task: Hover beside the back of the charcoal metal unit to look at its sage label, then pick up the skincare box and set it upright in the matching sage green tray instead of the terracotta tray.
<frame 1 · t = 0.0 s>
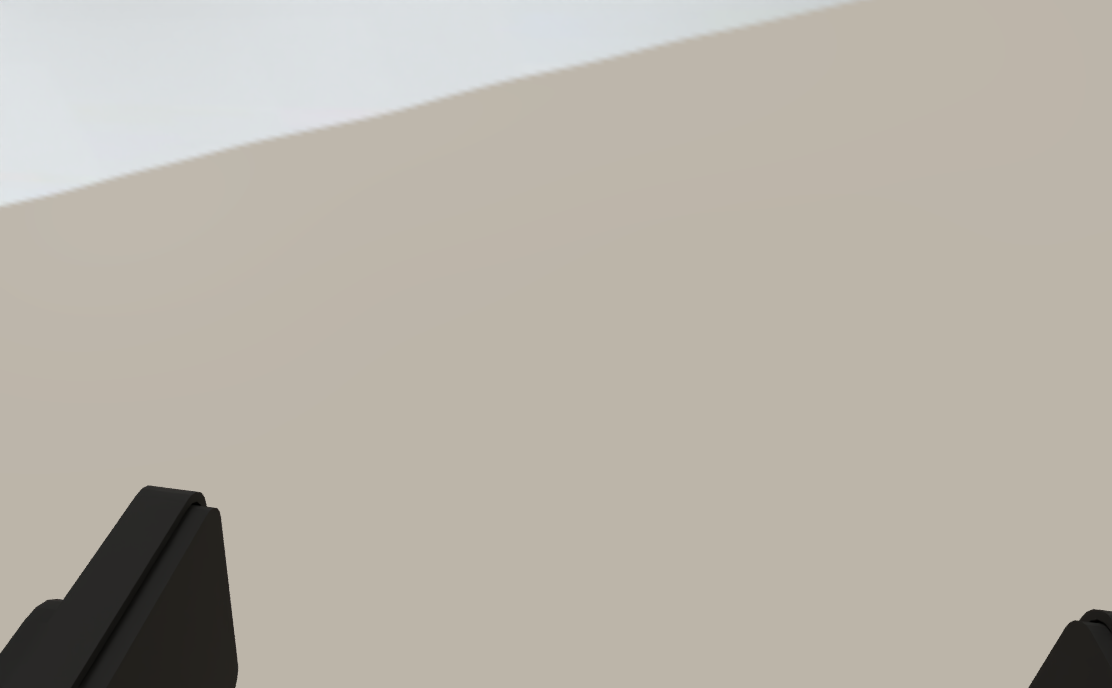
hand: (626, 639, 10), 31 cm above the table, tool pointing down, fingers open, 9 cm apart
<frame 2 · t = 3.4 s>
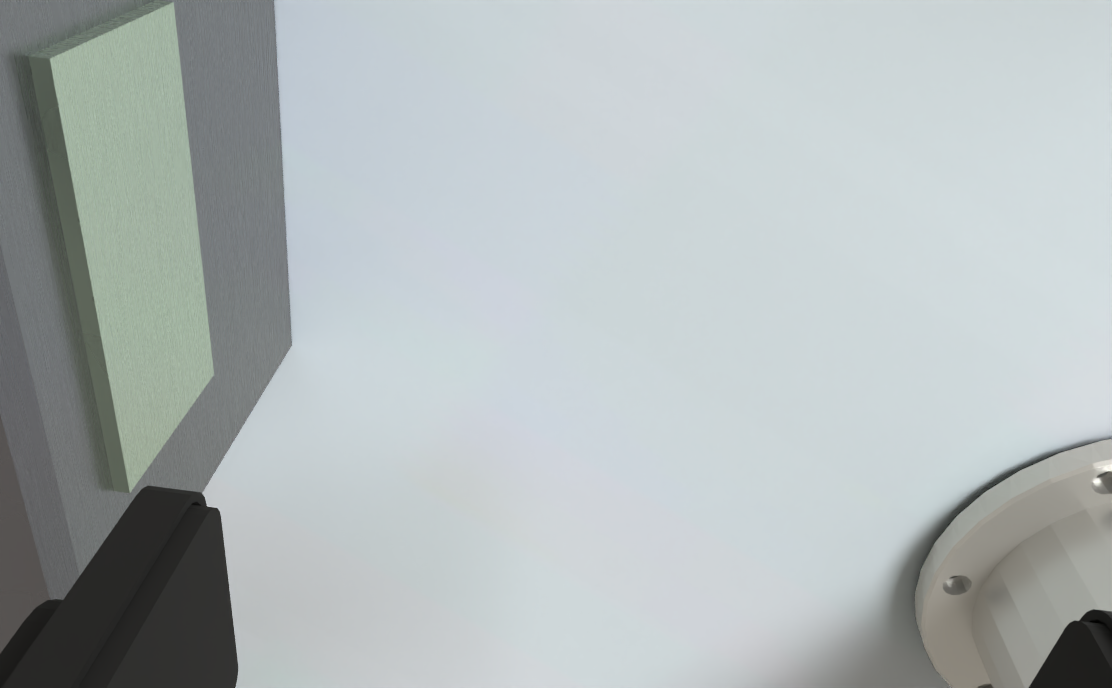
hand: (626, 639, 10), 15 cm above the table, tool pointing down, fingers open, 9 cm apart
charcoal unit: (164, 101, 23), on the table
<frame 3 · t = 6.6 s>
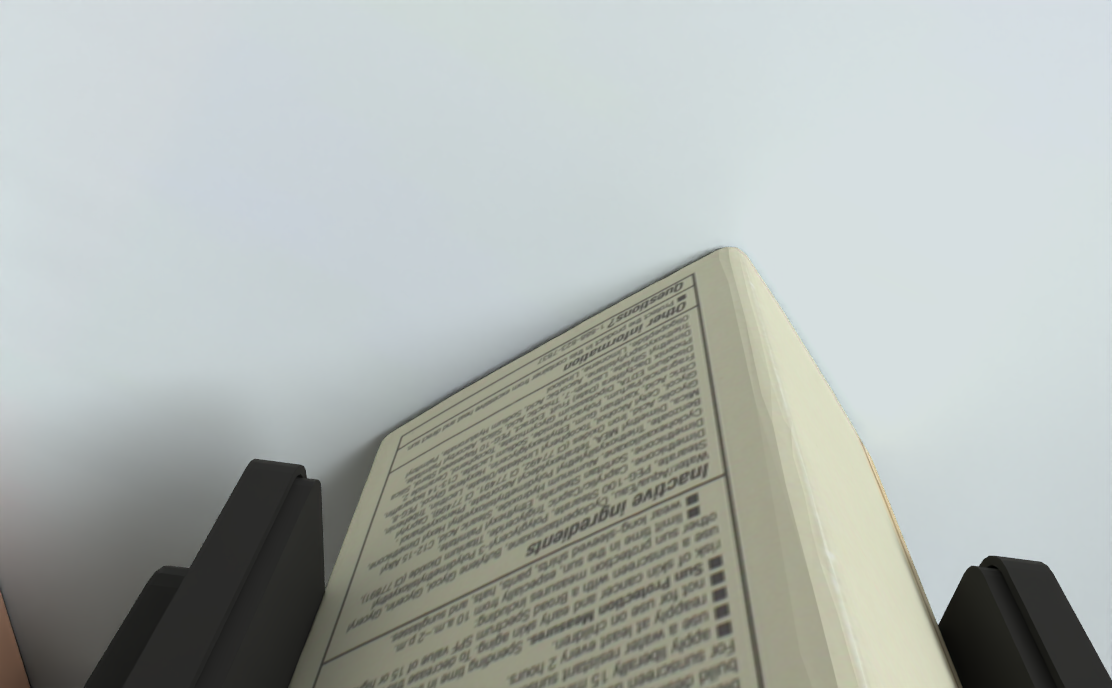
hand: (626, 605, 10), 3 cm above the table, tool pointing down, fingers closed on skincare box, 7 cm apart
skincare box: (625, 427, 13), on the table, touching gripper
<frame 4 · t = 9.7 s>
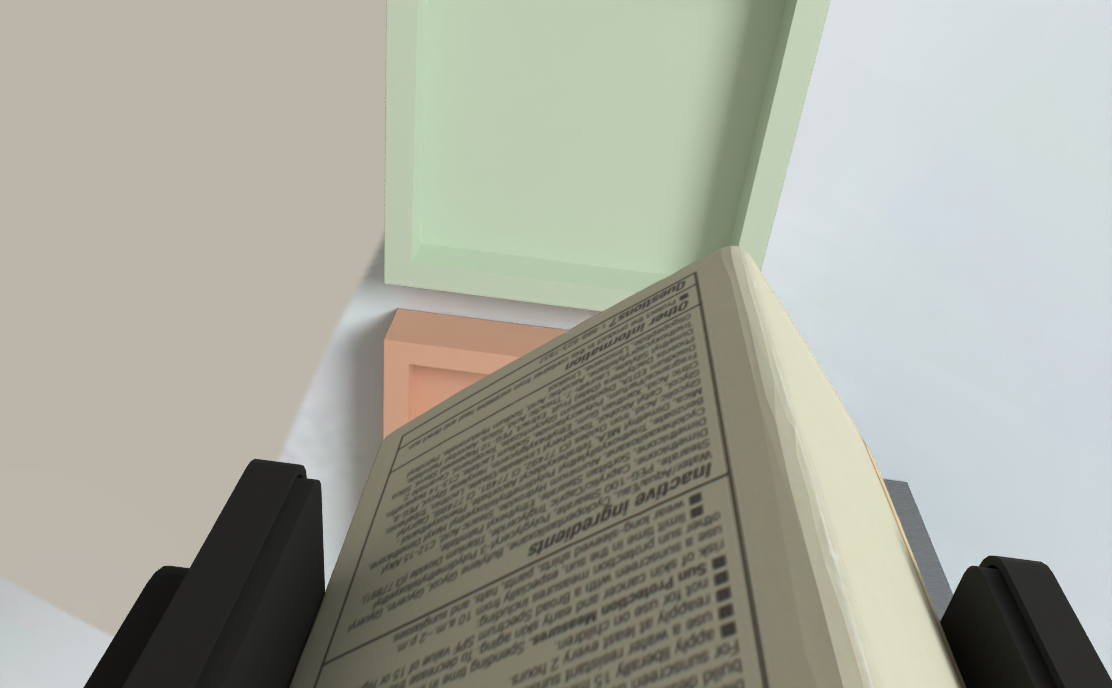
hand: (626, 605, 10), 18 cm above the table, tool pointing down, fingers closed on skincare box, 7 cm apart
sage tray: (590, 107, 26), on the table
skincare box: (627, 426, 13), point 15 cm above the table, touching gripper
terracotta tray: (545, 457, 33), on the table
charcoal unit: (777, 606, 36), on the table
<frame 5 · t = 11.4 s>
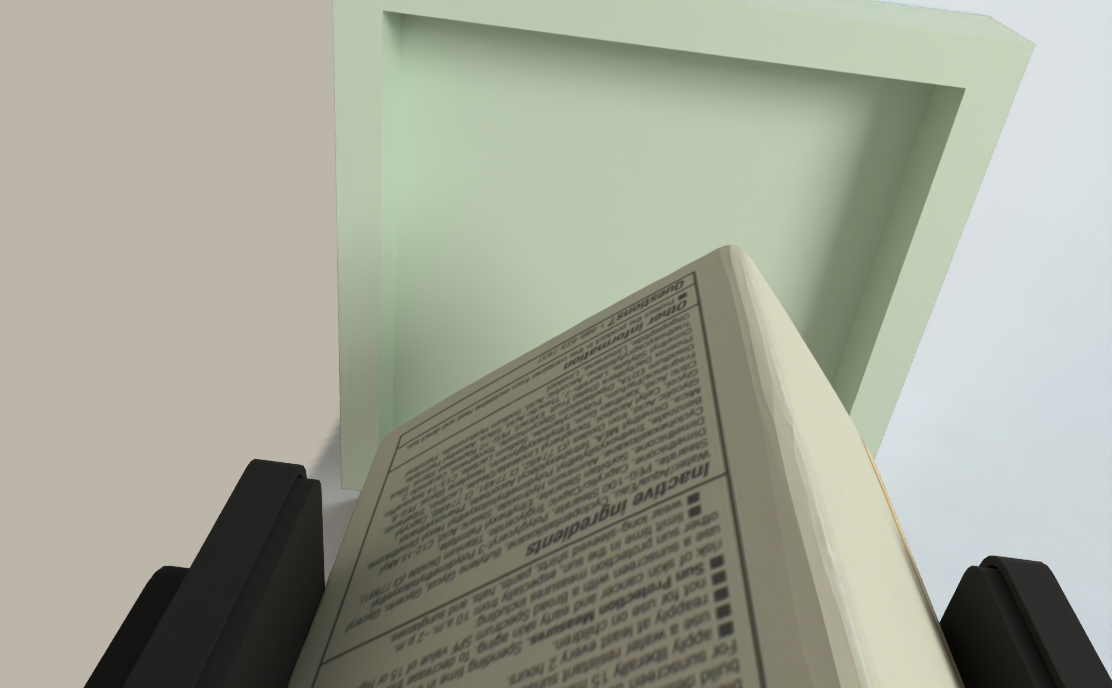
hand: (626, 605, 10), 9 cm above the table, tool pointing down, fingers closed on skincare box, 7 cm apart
sage tray: (628, 257, 18), on the table
skincare box: (626, 426, 13), point 6 cm above the table, touching gripper
when the fingers open (5 cm above the table, at t = 12.8 s): skincare box drops 1 cm, resting on sage tray.
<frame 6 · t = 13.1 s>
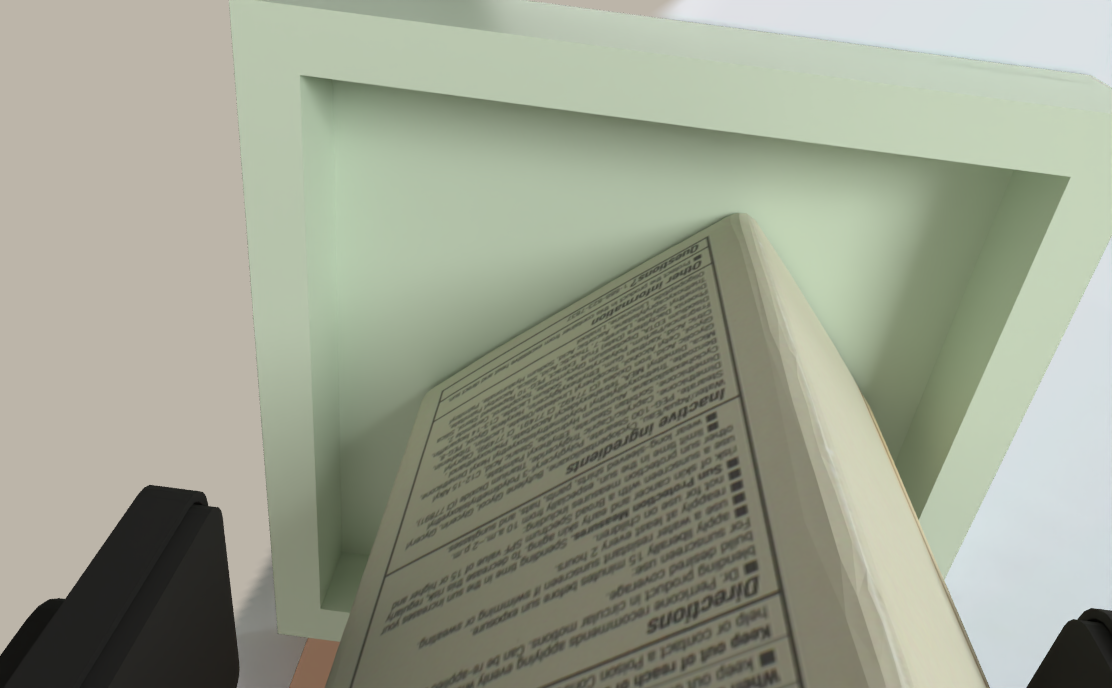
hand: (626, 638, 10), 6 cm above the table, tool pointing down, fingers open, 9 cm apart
sage tray: (625, 360, 15), on the table
skincare box: (645, 382, 15), resting on sage tray
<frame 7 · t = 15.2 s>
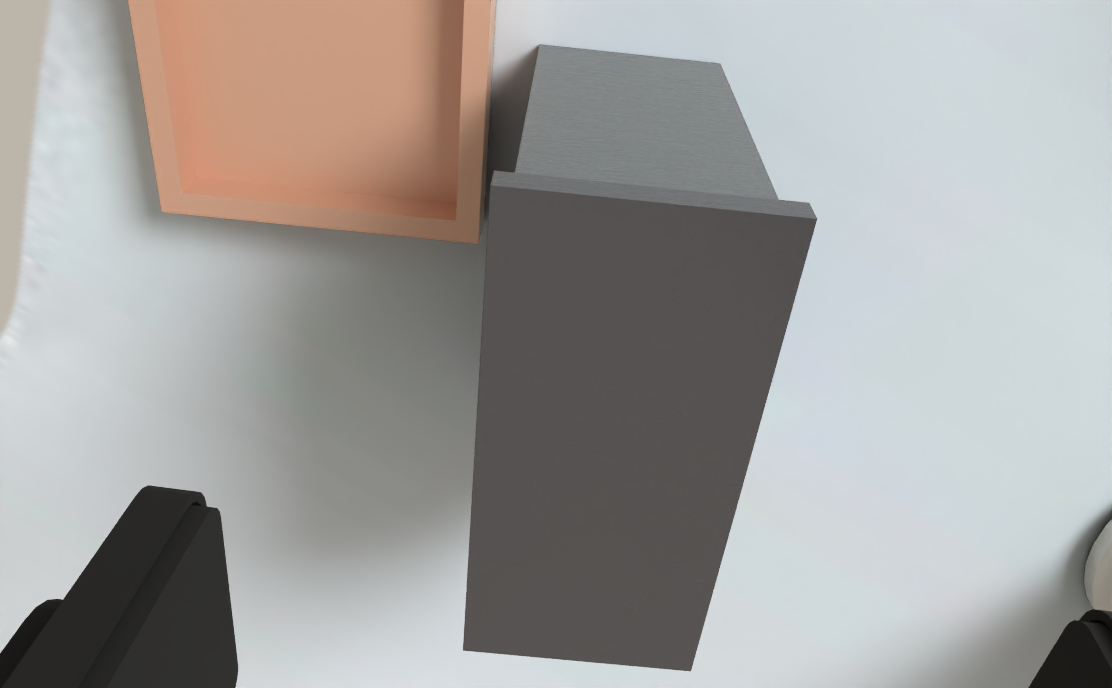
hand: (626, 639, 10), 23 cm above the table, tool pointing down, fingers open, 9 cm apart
terracotta tray: (327, 52, 30), on the table
charcoal unit: (603, 244, 33), on the table
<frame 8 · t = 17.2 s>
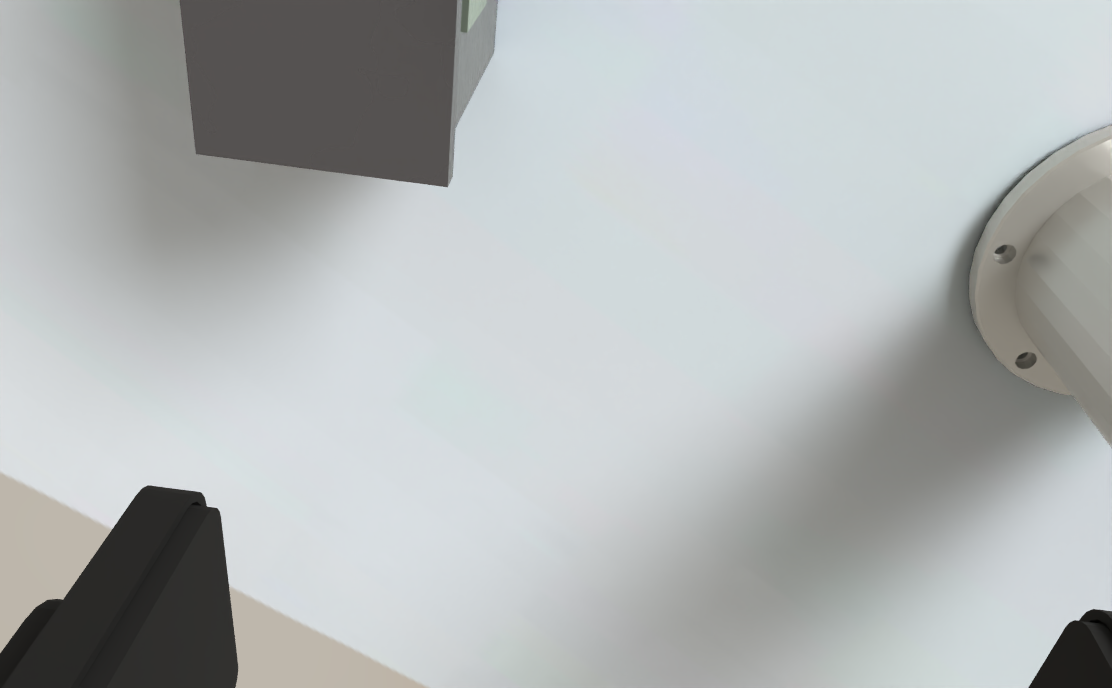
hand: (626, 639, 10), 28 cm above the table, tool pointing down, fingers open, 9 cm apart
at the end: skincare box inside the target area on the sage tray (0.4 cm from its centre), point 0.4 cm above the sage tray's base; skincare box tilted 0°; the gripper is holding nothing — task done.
